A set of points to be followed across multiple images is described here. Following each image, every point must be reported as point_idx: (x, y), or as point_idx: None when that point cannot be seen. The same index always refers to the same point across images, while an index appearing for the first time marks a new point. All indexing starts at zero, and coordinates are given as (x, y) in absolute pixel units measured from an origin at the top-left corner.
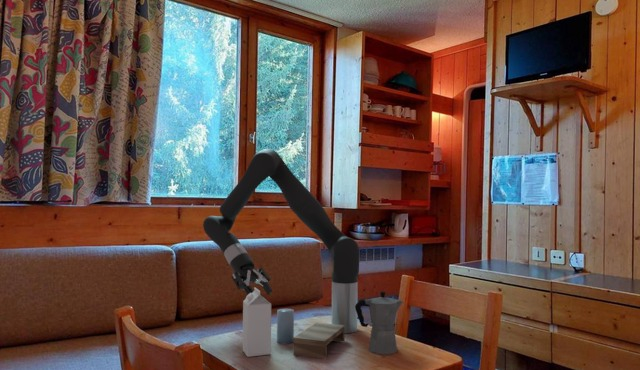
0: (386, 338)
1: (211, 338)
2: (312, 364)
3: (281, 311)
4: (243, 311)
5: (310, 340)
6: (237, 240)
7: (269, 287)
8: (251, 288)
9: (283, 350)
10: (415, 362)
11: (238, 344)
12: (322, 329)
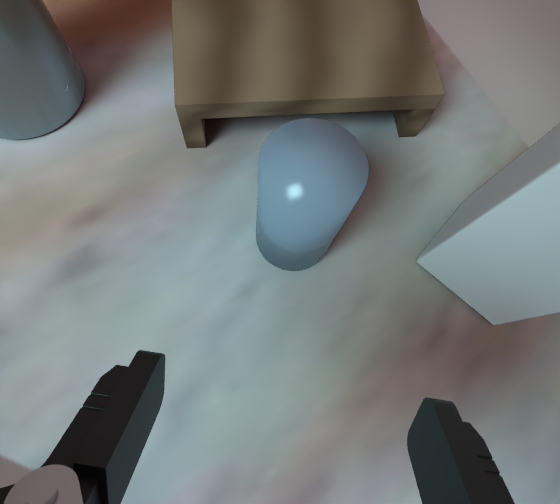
0: None
1: None
2: (455, 56)
3: (352, 173)
4: None
5: (425, 38)
6: None
7: (133, 387)
8: (464, 477)
9: (397, 185)
10: None
11: (441, 398)
12: (276, 44)
